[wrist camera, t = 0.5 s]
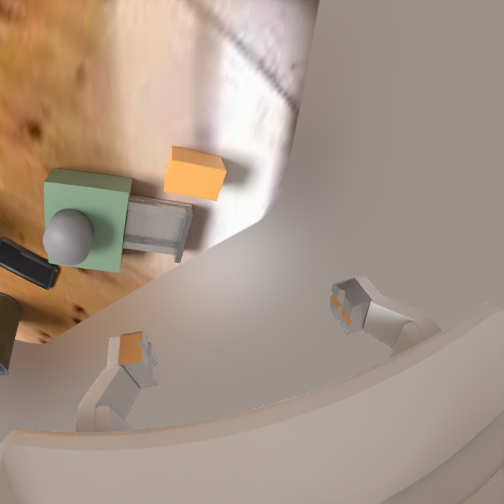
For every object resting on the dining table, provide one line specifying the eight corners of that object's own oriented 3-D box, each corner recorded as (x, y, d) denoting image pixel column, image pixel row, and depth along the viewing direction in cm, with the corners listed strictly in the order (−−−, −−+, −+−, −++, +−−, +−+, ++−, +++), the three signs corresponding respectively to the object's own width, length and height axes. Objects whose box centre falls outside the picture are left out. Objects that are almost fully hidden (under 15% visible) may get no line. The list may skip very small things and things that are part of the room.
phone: (49, 291, 50) (-5, 263, 41) (51, 287, 51) (-4, 259, 42) (58, 268, 47) (-1, 237, 39) (59, 264, 48) (1, 234, 39)
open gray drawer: (129, 194, 44) (127, 206, 41) (191, 204, 48) (193, 216, 45) (123, 242, 49) (121, 255, 46) (178, 249, 53) (180, 262, 51)
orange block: (171, 146, 41) (171, 159, 36) (220, 156, 44) (226, 171, 39) (164, 174, 43) (163, 191, 39) (211, 183, 47) (216, 201, 42)
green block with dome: (54, 168, 36) (34, 194, 30) (133, 178, 42) (126, 206, 35) (55, 245, 45) (43, 278, 38) (122, 254, 51) (118, 289, 44)
